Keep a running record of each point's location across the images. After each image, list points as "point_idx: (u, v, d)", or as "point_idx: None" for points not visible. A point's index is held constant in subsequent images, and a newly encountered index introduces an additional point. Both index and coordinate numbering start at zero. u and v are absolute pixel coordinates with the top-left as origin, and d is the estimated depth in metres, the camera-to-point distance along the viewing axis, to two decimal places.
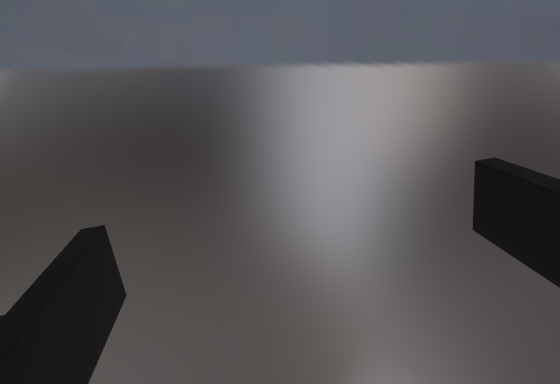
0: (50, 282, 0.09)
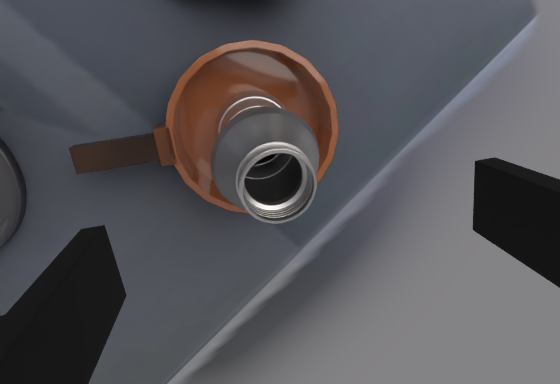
0: (50, 282, 0.09)
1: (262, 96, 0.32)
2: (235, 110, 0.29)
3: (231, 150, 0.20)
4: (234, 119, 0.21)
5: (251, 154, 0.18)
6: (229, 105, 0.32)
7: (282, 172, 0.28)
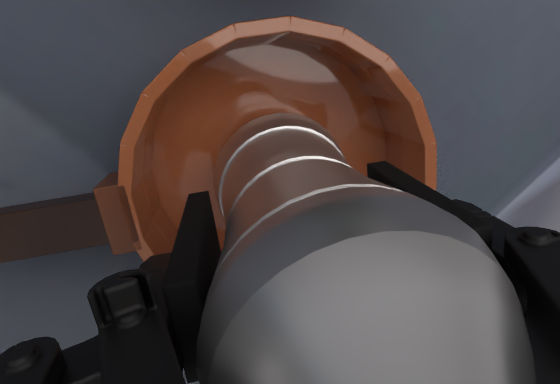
0: (193, 227, 0.11)
1: (301, 125, 0.17)
2: (253, 159, 0.14)
3: None
4: (272, 243, 0.07)
5: None
6: (239, 142, 0.17)
7: None
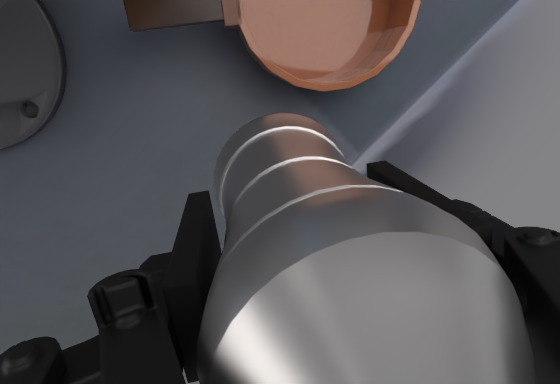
0: (193, 227, 0.11)
1: (302, 125, 0.17)
2: (254, 159, 0.14)
3: None
4: (272, 243, 0.07)
5: None
6: (240, 142, 0.17)
7: None
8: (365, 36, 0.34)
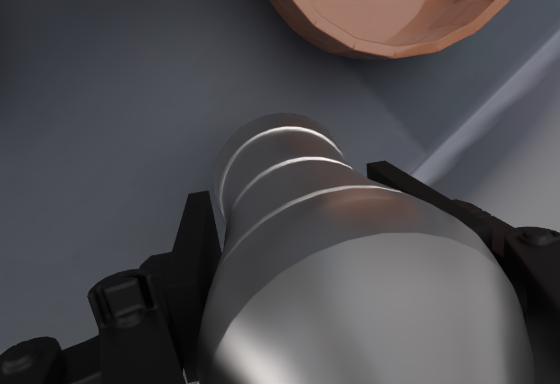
0: (193, 227, 0.11)
1: (302, 125, 0.17)
2: (254, 160, 0.14)
3: None
4: (272, 244, 0.07)
5: None
6: (240, 142, 0.17)
7: None
8: None
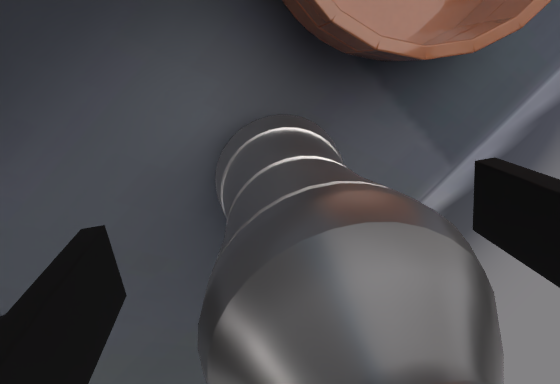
0: (50, 282, 0.09)
1: (300, 126, 0.17)
2: (253, 158, 0.15)
3: (263, 359, 0.06)
4: (266, 233, 0.07)
5: None
6: (240, 142, 0.17)
7: None
8: None
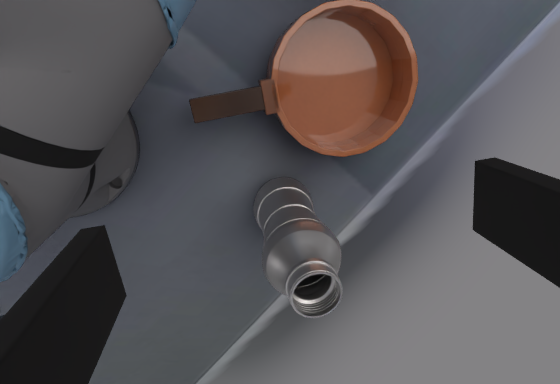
0: (50, 282, 0.09)
1: (291, 186, 0.40)
2: (272, 203, 0.37)
3: (280, 260, 0.29)
4: (279, 233, 0.30)
5: (296, 271, 0.27)
6: (265, 194, 0.40)
7: None
8: (373, 104, 0.43)
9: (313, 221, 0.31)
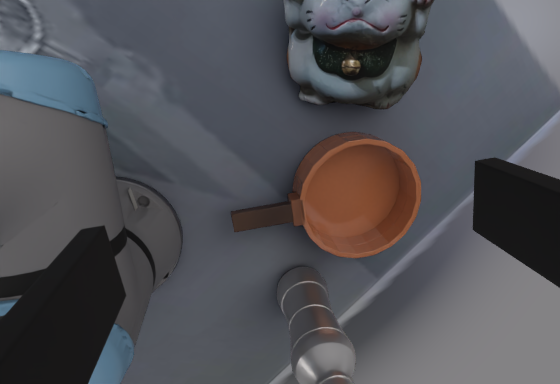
0: (50, 282, 0.09)
1: (311, 279, 0.47)
2: (296, 299, 0.45)
3: (308, 368, 0.36)
4: (307, 343, 0.37)
5: (323, 383, 0.34)
6: (289, 285, 0.47)
7: None
8: (382, 207, 0.50)
9: (334, 331, 0.38)
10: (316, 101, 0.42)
